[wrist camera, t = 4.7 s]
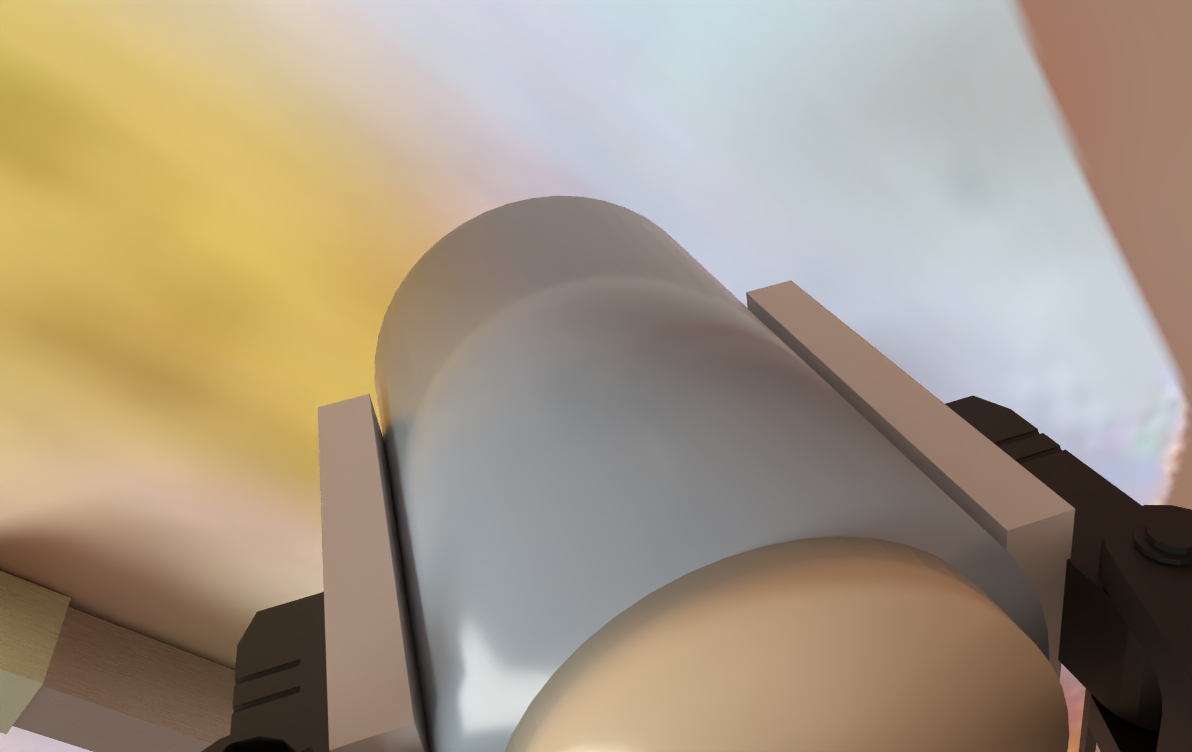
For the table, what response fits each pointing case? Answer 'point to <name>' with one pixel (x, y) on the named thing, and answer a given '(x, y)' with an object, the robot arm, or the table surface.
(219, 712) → the block
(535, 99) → the table surface
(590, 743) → the spice jar
